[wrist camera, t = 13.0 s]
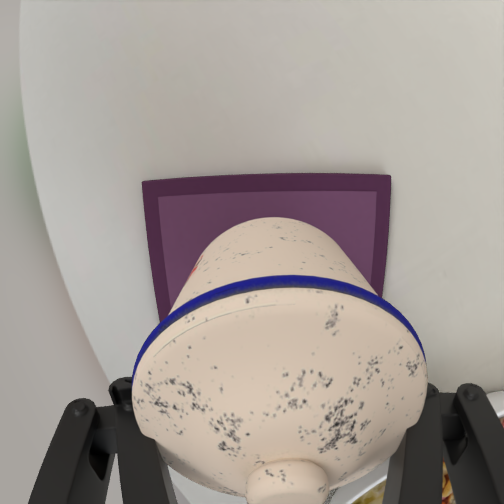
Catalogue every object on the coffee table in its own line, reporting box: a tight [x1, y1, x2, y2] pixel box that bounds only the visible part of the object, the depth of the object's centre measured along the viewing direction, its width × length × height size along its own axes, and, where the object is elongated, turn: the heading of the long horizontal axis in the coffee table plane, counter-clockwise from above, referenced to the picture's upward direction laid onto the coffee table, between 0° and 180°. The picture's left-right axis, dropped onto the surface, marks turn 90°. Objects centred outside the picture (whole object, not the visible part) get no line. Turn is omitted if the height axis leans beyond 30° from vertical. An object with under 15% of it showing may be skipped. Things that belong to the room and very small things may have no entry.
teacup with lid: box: [132, 217, 428, 504], centre depth 12 cm, size 12×9×12 cm
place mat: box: [142, 173, 391, 322], centre depth 20 cm, size 15×15×1 cm
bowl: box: [329, 390, 504, 504], centre depth 24 cm, size 30×30×8 cm
